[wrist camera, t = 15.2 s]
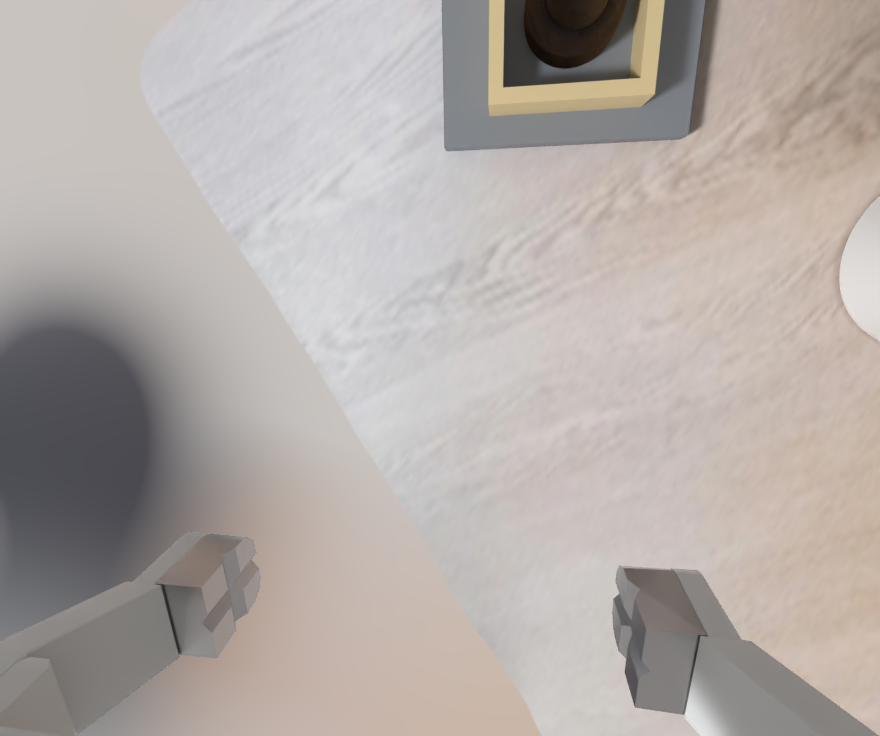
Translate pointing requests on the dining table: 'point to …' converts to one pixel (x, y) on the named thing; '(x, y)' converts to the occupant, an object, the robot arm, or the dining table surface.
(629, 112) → the holder
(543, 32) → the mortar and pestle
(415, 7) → the dining table surface
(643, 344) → the dining table surface
